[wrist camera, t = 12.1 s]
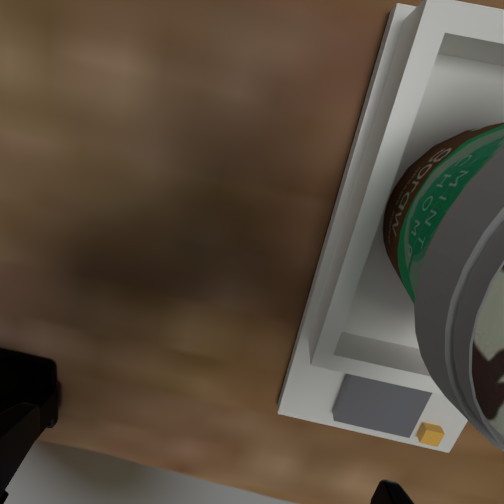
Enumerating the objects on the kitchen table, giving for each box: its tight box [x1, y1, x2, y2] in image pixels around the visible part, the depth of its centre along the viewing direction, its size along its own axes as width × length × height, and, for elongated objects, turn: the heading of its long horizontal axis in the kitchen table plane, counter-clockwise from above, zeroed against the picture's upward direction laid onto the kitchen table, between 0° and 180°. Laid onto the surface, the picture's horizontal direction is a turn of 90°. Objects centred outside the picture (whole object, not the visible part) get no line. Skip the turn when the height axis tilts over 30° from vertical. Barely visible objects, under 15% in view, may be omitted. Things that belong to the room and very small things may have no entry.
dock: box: [278, 0, 504, 453], centre depth 17 cm, size 12×24×4 cm, turn 169°
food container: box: [383, 122, 504, 451], centre depth 12 cm, size 12×6×10 cm, turn 169°
